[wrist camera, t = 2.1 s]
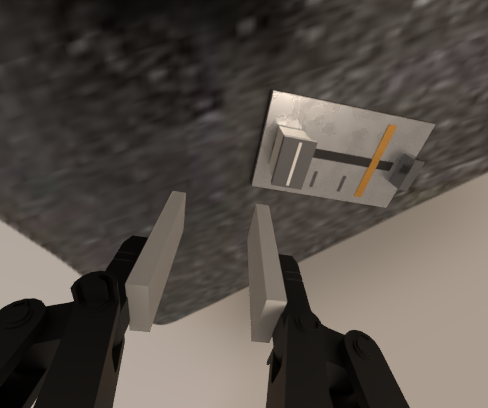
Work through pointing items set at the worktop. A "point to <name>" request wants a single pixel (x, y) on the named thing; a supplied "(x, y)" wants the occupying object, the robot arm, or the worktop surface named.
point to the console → (345, 148)
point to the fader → (291, 157)
